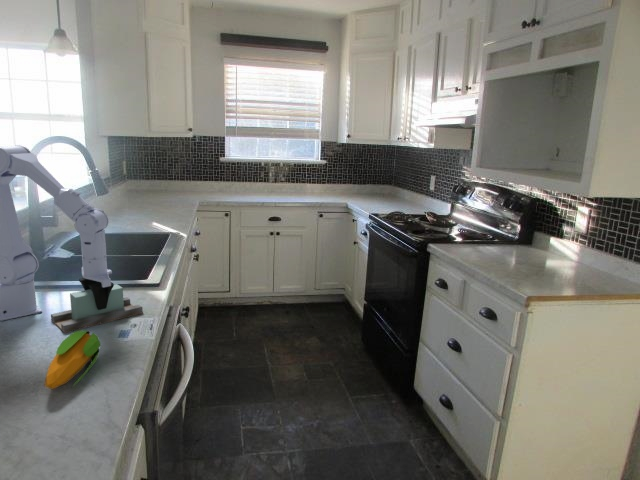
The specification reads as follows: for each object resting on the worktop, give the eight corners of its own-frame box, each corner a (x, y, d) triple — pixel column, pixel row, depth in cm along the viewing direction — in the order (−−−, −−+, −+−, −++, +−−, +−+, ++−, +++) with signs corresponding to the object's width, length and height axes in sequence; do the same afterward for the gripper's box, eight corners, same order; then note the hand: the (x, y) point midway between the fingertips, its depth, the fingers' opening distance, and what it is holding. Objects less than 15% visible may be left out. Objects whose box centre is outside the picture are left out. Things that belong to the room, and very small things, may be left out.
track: (64, 332, 114) (64, 326, 114) (51, 320, 121) (50, 314, 121) (142, 313, 128) (142, 306, 128) (127, 302, 135) (126, 297, 135)
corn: (104, 320, 104) (69, 364, 85) (109, 351, 106) (75, 401, 87) (69, 323, 103) (26, 367, 84) (74, 354, 105) (33, 405, 86)
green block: (77, 323, 119) (75, 297, 117) (72, 318, 122) (69, 293, 120) (124, 312, 127) (122, 287, 126) (117, 307, 130) (116, 284, 129)
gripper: (121, 260, 119) (124, 310, 122) (99, 248, 129) (102, 295, 132) (93, 264, 114) (96, 316, 117) (71, 252, 124) (75, 300, 127)
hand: (97, 305), depth 124 cm, fingers open, 5 cm apart
